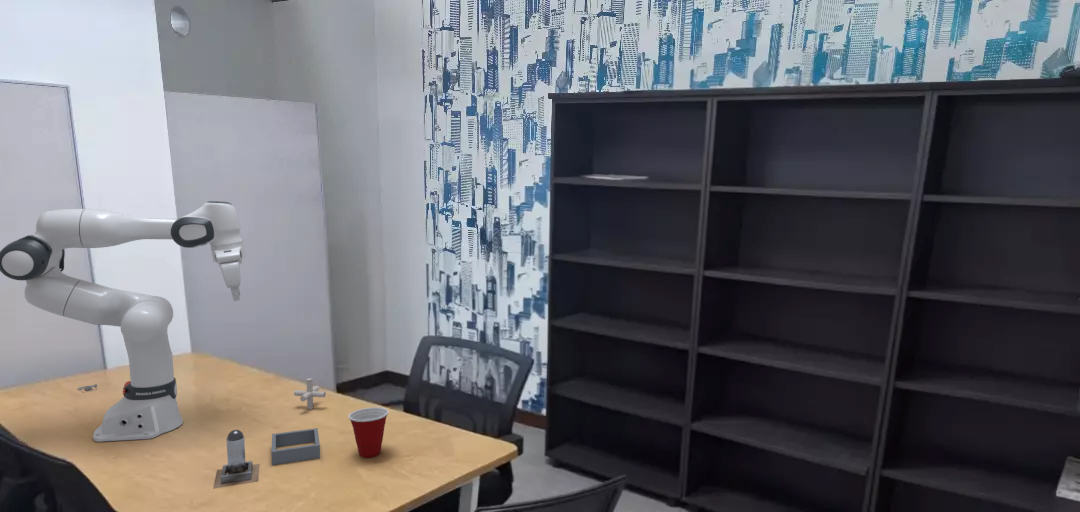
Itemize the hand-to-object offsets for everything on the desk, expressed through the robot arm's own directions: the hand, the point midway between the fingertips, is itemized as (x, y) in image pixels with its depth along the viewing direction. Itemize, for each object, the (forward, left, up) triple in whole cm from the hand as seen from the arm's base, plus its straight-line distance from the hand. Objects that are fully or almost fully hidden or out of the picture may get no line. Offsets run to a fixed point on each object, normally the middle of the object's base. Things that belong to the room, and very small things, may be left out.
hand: (237, 298), depth 190 cm
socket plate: (+1, -41, -39) cm, 57 cm away
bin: (+15, -32, -39) cm, 53 cm away
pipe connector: (+20, +3, -39) cm, 44 cm away
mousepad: (-55, +49, -39) cm, 83 cm away
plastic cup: (+34, -37, -39) cm, 64 cm away
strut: (+1, -41, -38) cm, 56 cm away
